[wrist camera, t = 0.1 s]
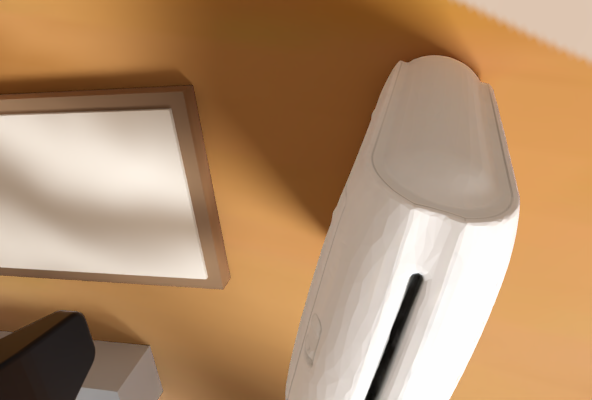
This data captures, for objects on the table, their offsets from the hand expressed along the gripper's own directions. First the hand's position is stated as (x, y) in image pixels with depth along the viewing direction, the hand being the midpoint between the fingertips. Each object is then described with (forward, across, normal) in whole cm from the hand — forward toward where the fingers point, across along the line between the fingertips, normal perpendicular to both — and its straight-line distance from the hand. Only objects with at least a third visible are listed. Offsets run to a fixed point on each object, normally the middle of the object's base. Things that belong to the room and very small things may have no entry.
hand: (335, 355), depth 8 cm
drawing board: (+15, +19, +4) cm, 24 cm away
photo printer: (+15, 0, +4) cm, 15 cm away
